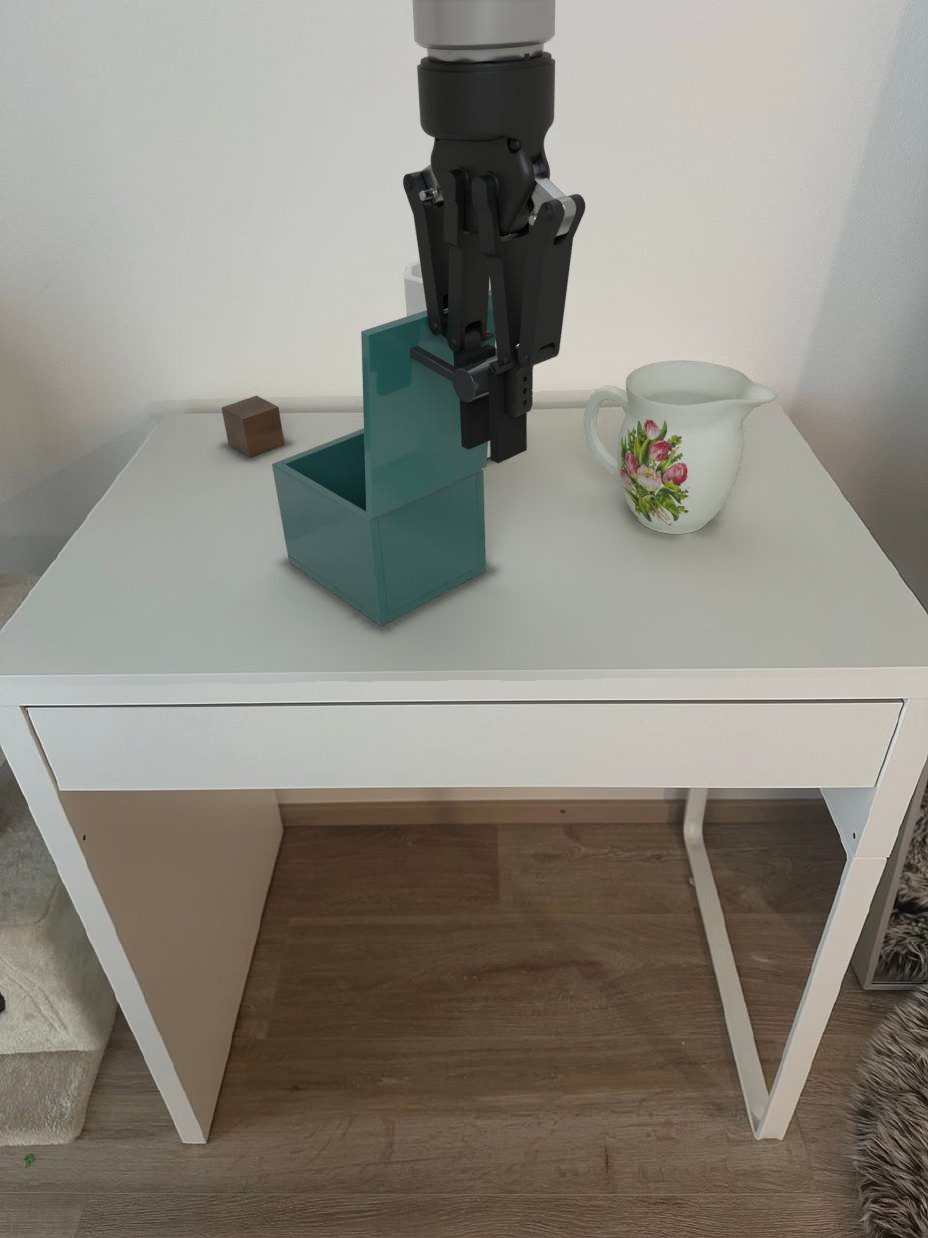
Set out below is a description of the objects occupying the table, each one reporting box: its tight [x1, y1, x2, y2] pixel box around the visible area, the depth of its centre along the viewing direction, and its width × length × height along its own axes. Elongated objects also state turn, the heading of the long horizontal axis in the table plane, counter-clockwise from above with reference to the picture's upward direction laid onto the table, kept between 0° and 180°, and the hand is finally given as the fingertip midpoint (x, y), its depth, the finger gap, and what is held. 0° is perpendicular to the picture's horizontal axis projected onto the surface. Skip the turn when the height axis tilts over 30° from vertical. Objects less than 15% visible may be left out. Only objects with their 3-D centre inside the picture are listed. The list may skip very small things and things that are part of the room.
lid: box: [360, 290, 498, 518], centre depth 66 cm, size 14×12×8 cm
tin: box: [271, 427, 487, 627], centre depth 80 cm, size 14×12×10 cm
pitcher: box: [583, 359, 779, 535], centre depth 84 cm, size 11×18×14 cm, turn 51°
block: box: [220, 395, 285, 458], centre depth 102 cm, size 4×4×4 cm
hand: (493, 447), depth 64 cm, fingers closed on lid, 2 cm apart
